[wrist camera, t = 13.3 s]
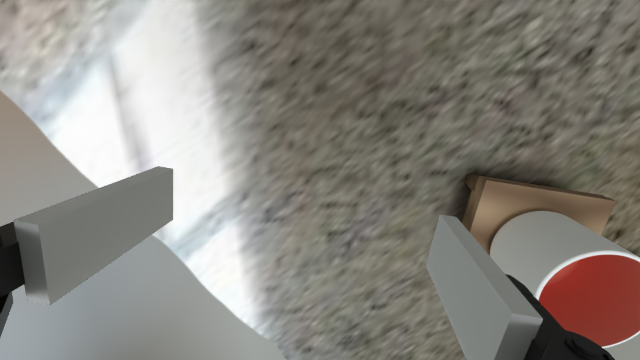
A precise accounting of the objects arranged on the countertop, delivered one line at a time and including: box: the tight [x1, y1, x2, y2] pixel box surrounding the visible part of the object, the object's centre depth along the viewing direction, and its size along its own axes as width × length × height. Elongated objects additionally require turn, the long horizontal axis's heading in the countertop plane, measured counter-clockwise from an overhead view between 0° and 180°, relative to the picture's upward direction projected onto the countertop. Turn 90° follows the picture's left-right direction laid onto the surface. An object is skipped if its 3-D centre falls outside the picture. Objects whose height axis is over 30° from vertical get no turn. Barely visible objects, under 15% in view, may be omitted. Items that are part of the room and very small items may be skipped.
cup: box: [490, 211, 640, 348], centre depth 30 cm, size 10×10×10 cm
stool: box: [462, 173, 616, 256], centre depth 39 cm, size 14×14×8 cm
